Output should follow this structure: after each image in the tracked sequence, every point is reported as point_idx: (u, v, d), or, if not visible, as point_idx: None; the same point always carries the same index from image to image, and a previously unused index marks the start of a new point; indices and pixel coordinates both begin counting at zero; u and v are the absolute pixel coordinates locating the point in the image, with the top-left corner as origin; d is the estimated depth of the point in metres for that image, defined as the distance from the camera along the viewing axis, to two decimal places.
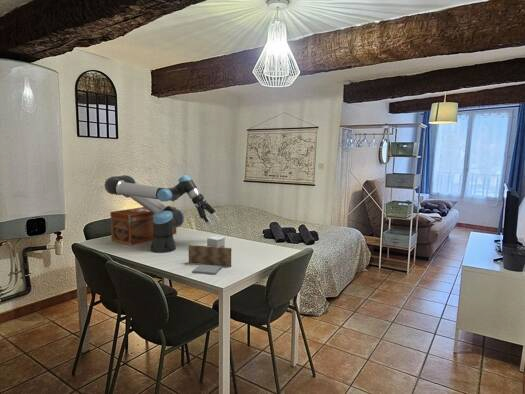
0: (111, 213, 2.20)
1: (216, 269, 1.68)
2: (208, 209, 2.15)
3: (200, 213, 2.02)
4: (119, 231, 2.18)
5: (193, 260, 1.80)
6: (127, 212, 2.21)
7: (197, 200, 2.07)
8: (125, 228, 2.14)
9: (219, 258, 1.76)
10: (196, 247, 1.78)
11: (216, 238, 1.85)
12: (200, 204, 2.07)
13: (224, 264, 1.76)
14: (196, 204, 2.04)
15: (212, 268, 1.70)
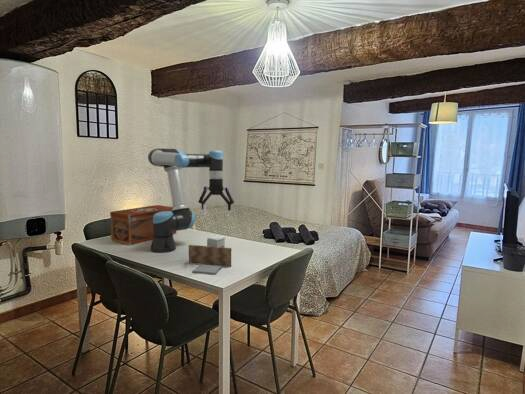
0: (111, 213, 2.20)
1: (216, 269, 1.68)
2: None
3: None
4: (119, 231, 2.18)
5: (193, 260, 1.80)
6: (127, 212, 2.21)
7: (209, 183, 1.84)
8: (125, 228, 2.15)
9: (219, 258, 1.76)
10: (196, 247, 1.78)
11: (216, 238, 1.85)
12: None
13: (224, 264, 1.76)
14: (204, 187, 1.85)
15: (212, 268, 1.70)
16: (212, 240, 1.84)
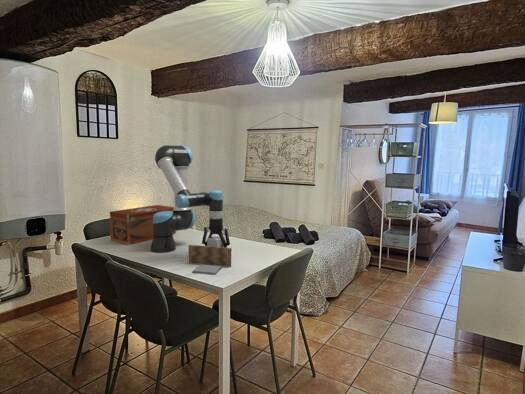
0: (110, 213, 2.21)
1: (216, 269, 1.68)
2: None
3: None
4: (118, 231, 2.19)
5: (193, 260, 1.80)
6: (126, 212, 2.22)
7: None
8: (124, 228, 2.15)
9: (219, 258, 1.76)
10: (196, 247, 1.78)
11: (216, 238, 1.85)
12: (209, 228, 1.86)
13: (224, 264, 1.76)
14: None
15: (212, 268, 1.70)
16: (212, 240, 1.84)
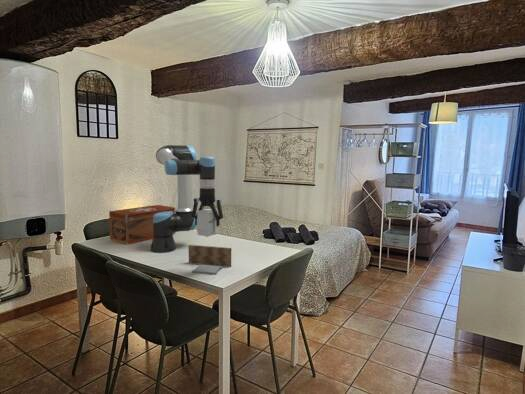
0: (110, 212, 2.22)
1: (216, 269, 1.68)
2: None
3: None
4: (117, 231, 2.20)
5: (193, 260, 1.80)
6: (125, 212, 2.23)
7: None
8: (122, 227, 2.16)
9: (219, 258, 1.76)
10: (196, 247, 1.78)
11: (207, 210, 1.64)
12: (199, 200, 1.65)
13: (224, 264, 1.76)
14: (194, 199, 1.66)
15: (212, 268, 1.70)
16: (203, 212, 1.62)
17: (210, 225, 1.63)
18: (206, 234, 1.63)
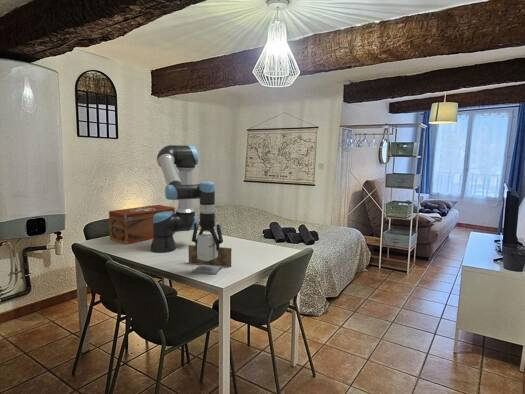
0: (109, 212, 2.23)
1: (216, 269, 1.68)
2: None
3: None
4: (117, 230, 2.21)
5: (193, 260, 1.80)
6: (125, 211, 2.23)
7: None
8: (122, 227, 2.16)
9: (219, 258, 1.76)
10: None
11: (207, 235, 1.65)
12: (199, 224, 1.66)
13: (224, 264, 1.76)
14: (194, 223, 1.68)
15: (212, 268, 1.70)
16: (203, 237, 1.64)
17: (210, 250, 1.64)
18: (206, 259, 1.64)
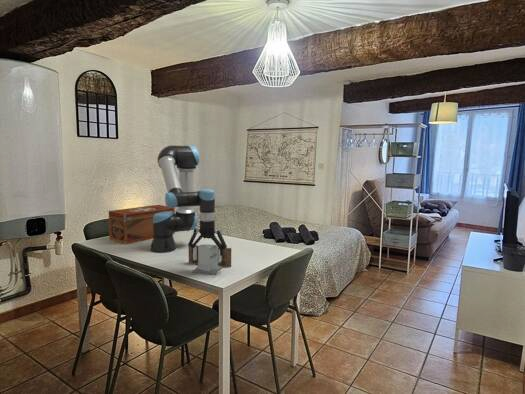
0: (109, 212, 2.24)
1: (216, 269, 1.68)
2: None
3: None
4: (116, 230, 2.21)
5: (193, 260, 1.80)
6: (124, 211, 2.24)
7: None
8: (121, 227, 2.17)
9: None
10: None
11: (208, 245, 1.66)
12: (199, 232, 1.67)
13: (224, 264, 1.76)
14: (194, 229, 1.68)
15: None
16: (204, 248, 1.64)
17: (211, 260, 1.65)
18: (207, 269, 1.65)
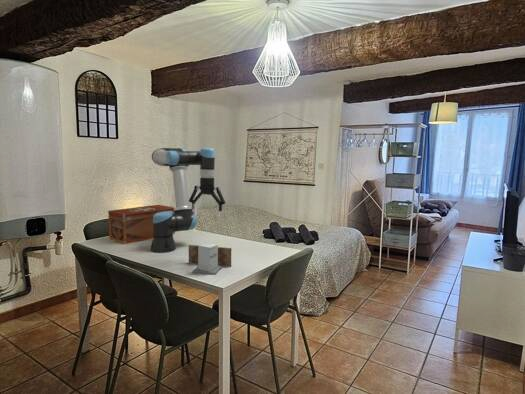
0: (109, 212, 2.24)
1: (216, 269, 1.68)
2: None
3: None
4: (116, 230, 2.22)
5: (193, 260, 1.80)
6: (124, 211, 2.24)
7: None
8: (120, 227, 2.17)
9: (219, 258, 1.76)
10: (196, 247, 1.78)
11: (208, 245, 1.66)
12: None
13: (224, 264, 1.76)
14: None
15: None
16: (204, 248, 1.64)
17: (211, 260, 1.65)
18: (207, 269, 1.65)
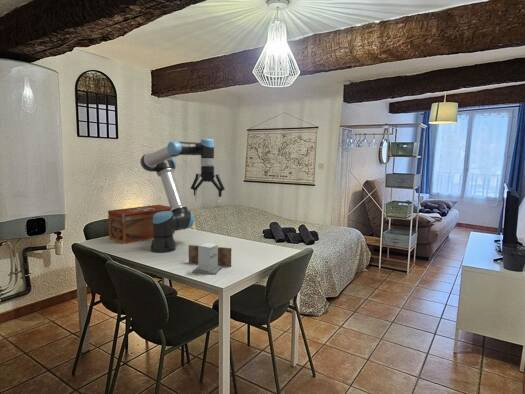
0: (109, 212, 2.25)
1: (216, 269, 1.68)
2: None
3: None
4: (115, 230, 2.22)
5: (193, 260, 1.80)
6: (124, 211, 2.25)
7: None
8: (120, 227, 2.18)
9: (219, 258, 1.76)
10: (196, 247, 1.78)
11: (208, 245, 1.66)
12: None
13: (224, 264, 1.76)
14: (196, 174, 1.93)
15: None
16: (204, 248, 1.64)
17: (211, 260, 1.65)
18: (207, 269, 1.65)
